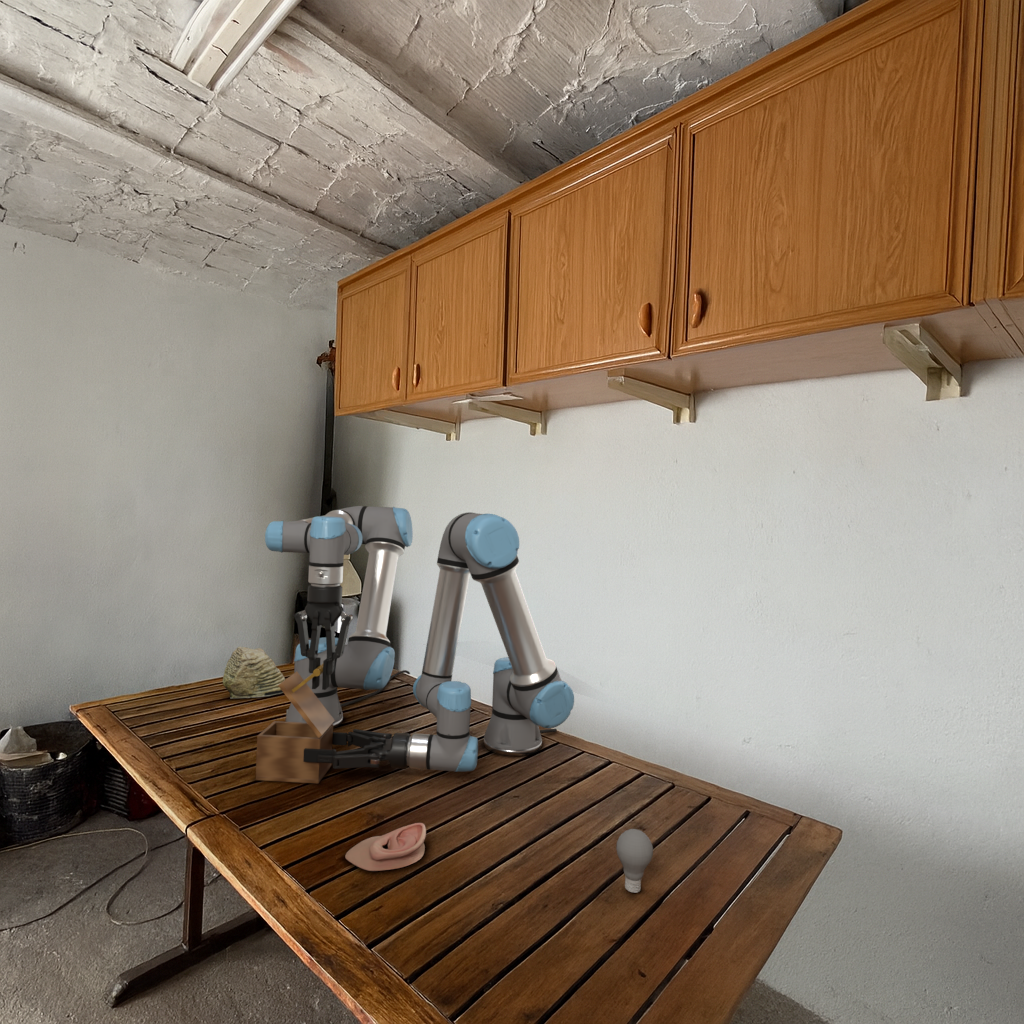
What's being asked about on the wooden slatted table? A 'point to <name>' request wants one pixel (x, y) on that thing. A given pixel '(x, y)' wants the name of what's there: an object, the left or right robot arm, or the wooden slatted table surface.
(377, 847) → the anatomical model
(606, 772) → the wooden slatted table surface
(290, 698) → the panel with bar handle
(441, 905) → the wooden slatted table surface
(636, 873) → the light bulb
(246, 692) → the fossil
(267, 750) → the chest
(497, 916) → the wooden slatted table surface
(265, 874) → the wooden slatted table surface
